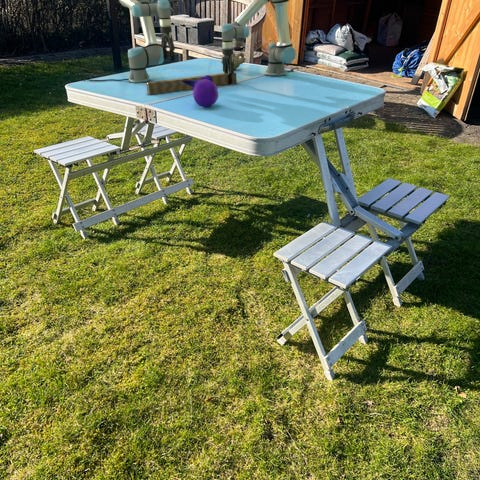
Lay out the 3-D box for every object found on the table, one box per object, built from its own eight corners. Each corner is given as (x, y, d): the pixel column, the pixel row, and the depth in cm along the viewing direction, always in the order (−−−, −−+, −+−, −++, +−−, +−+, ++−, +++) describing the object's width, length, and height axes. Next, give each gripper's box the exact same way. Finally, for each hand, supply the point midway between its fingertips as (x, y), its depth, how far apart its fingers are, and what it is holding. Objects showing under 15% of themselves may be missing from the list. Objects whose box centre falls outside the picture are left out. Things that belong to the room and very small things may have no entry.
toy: (206, 98, 286) (218, 113, 265) (179, 93, 279) (189, 108, 258) (211, 72, 278) (224, 86, 257) (184, 67, 271) (195, 81, 250)
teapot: (225, 72, 364) (224, 52, 356) (218, 70, 372) (217, 50, 365) (247, 69, 373) (247, 50, 365) (240, 67, 381) (240, 48, 374)
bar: (149, 95, 298) (148, 83, 294) (147, 93, 301) (146, 82, 298) (236, 83, 325) (236, 72, 321) (233, 82, 329) (233, 71, 325)
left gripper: (177, 26, 293) (180, 61, 303) (164, 24, 312) (167, 57, 322) (166, 27, 290) (170, 62, 300) (154, 25, 309) (157, 58, 319)
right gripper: (238, 49, 307) (239, 84, 319) (226, 46, 321) (227, 80, 333) (229, 50, 304) (230, 85, 316) (217, 47, 318) (218, 81, 330)
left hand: (169, 60), depth 311 cm, fingers open, 13 cm apart
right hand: (228, 83), depth 324 cm, fingers open, 5 cm apart
